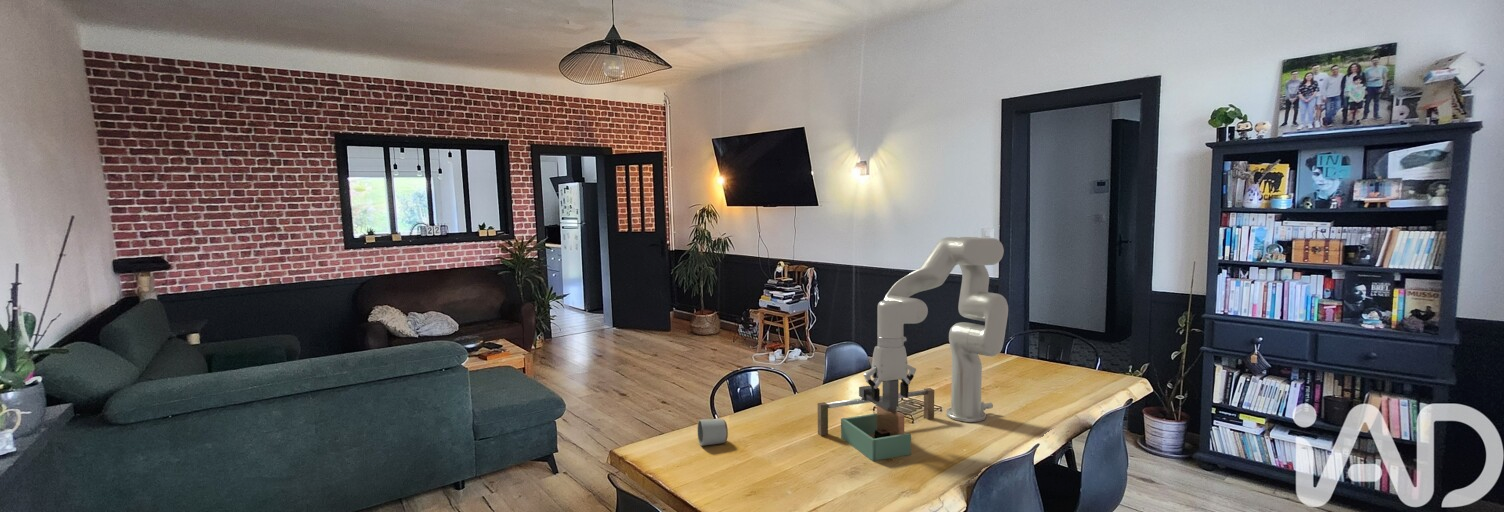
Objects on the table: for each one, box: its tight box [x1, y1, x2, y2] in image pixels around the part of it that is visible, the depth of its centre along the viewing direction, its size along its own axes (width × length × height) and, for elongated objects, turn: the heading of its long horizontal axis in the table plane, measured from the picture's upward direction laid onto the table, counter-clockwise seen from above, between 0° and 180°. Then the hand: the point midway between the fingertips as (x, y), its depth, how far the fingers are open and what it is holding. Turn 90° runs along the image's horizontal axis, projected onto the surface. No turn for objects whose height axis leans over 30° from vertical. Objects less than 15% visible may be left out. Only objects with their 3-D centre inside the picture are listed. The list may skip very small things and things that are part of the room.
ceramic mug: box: [697, 418, 729, 447], centre depth 196 cm, size 11×8×8 cm
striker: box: [858, 380, 905, 436], centre depth 196 cm, size 4×22×18 cm, turn 19°
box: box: [840, 412, 912, 462], centre depth 191 cm, size 12×19×6 cm, turn 19°
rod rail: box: [817, 387, 935, 437], centre depth 207 cm, size 41×2×10 cm, turn 109°
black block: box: [873, 429, 890, 439], centre depth 192 cm, size 12×7×5 cm, turn 21°
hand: (890, 398), depth 191 cm, fingers open, 9 cm apart
